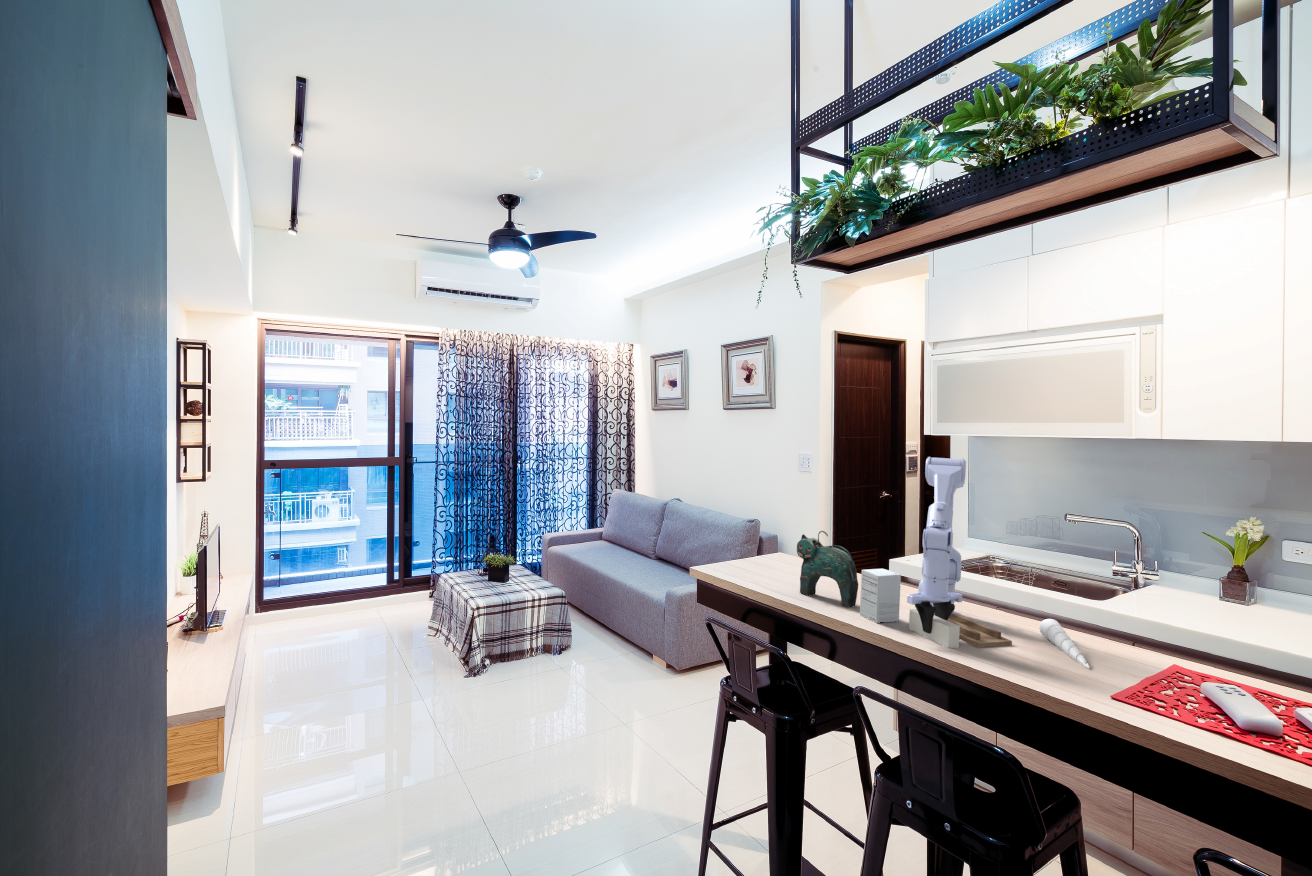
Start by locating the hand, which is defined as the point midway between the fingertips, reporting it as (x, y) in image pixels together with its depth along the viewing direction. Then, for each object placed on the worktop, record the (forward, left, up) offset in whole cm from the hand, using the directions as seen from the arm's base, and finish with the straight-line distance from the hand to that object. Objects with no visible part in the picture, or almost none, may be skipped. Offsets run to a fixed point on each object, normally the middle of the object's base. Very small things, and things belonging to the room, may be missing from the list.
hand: (933, 631), depth 157 cm
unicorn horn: (+13, +27, -2) cm, 30 cm away
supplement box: (-16, -4, -2) cm, 17 cm away
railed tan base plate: (-3, +11, -1) cm, 11 cm away
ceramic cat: (-36, -8, -2) cm, 36 cm away
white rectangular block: (0, 0, -2) cm, 2 cm away
